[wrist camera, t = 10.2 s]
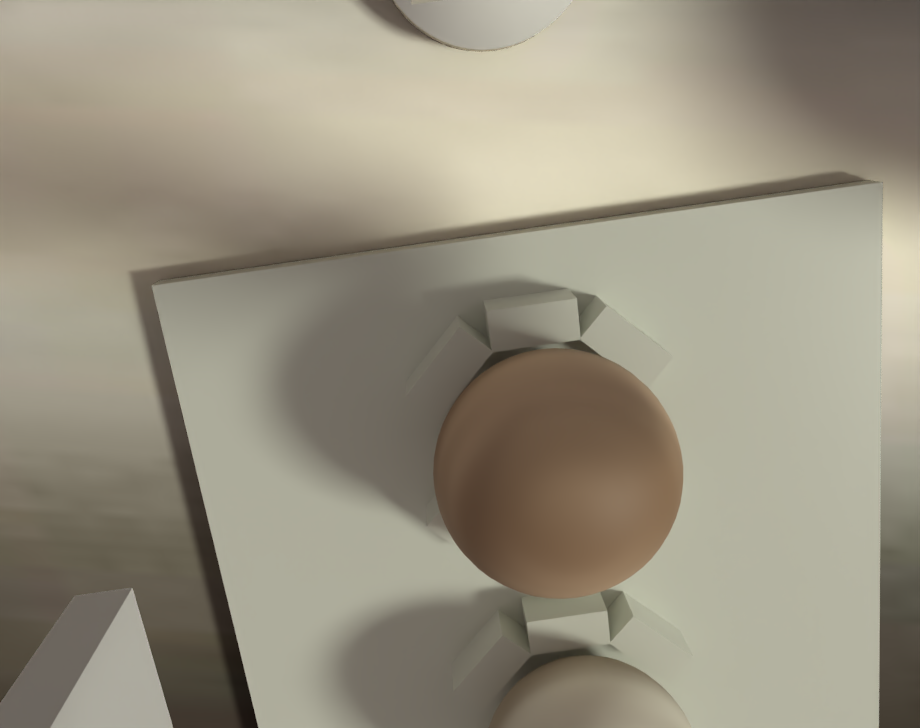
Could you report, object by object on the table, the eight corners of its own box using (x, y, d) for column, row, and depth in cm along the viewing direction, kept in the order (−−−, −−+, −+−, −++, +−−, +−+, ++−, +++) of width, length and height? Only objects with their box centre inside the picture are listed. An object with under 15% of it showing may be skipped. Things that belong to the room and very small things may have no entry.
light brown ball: (417, 339, 19) (414, 415, 14) (639, 307, 19) (712, 373, 14) (447, 538, 20) (454, 670, 15) (654, 509, 20) (725, 631, 15)
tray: (159, 280, 19) (134, 296, 17) (868, 180, 19) (911, 185, 17) (344, 1057, 25) (339, 1120, 24) (866, 978, 26) (896, 1036, 24)
